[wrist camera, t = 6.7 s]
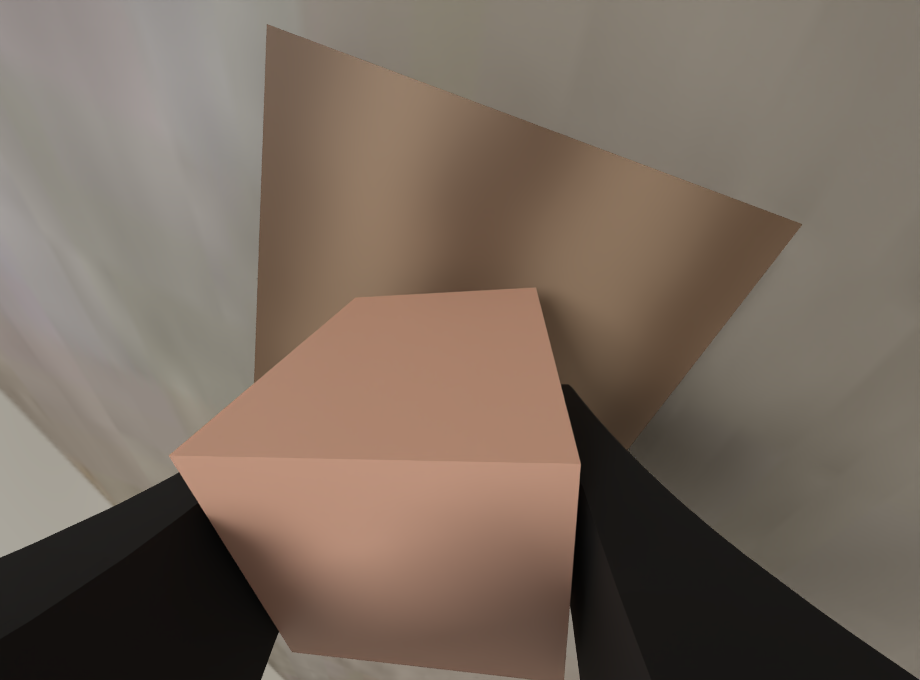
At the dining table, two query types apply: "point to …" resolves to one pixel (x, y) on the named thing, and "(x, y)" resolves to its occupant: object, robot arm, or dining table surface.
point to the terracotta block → (405, 486)
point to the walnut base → (490, 227)
